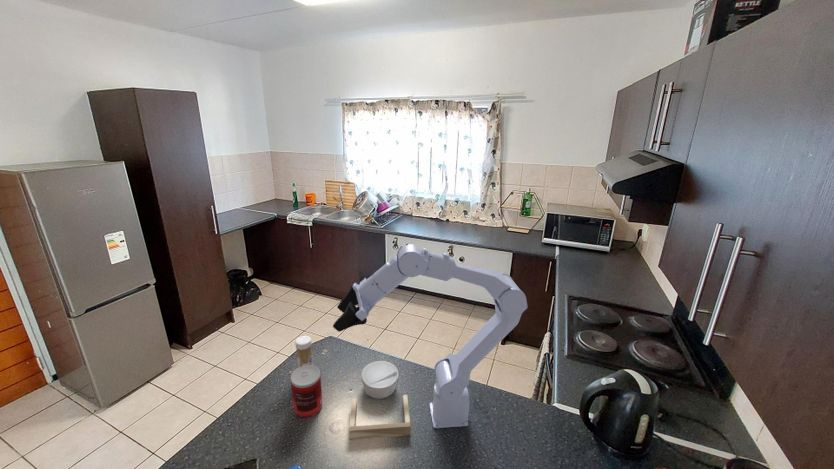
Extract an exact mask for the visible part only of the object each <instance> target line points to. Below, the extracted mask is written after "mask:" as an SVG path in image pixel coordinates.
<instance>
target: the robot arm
mask: <svg viewBox="0 0 834 469" xmlns="http://www.w3.org/2000/svg"><path fill="white" fill-rule="evenodd" d="M418 276H423V277H428V278H432V279H435V280H439V281H444V282H448V281H450V280H451V279H456V280H460V281H462V282H466V283H469V284H472V285H475V286H479V287H482V288H484V289H485V290H486V291H487V292H488V294H490V296H491V297H492V298H493V300H494V309H495V313H494V314H493V315H492V316H491V317H490V319H489V320H487V321H486V323H484V324H483V325H482V326H481V327H480V329H479V330H478V331H477V332H476V333H475V334H474V335H473V336H472V337H471V338H470V339H469V340H468V341H467V342H466V343H465V344H464V345H463V347H461V349H459V350H458V352H457V353H453V352H452V353H448V354H447V355H446V356H445V357H443V358H441V359H438V361H436V362H435V364H434V373H435V377H436V380H435V383H434V386H433V401H432V402H429V410H430V417H431V422H432V426H433V428H434V429H443V428H457V427H469V422H468V421H469V412H470V393H469V390H468V386H469V384H470V378H471V373H472V371H473V370H474V369H475V368H476V367H477V366H478V364H480V363H481V361H483V360H484V359H485V358H486V357H487V356H488V355H489V354H490V353H491V352H492V351H493V350H494V349H495V348H496V347H497V346H498V345H499V343H501V342H502V340H503V339H505V338H506V336H507V335H509V333H511V331H512V330H514V329H515V327H517V325H518V324H519V322H520V320H521V316H522V315H523V313H524V312H525V311H526V310H527V309H528V302H527V296H526V294H525V292H523V290H521V289H520V288H519V286H518V285H517V284H516V283H515V281H514V280H513V278H512V276H511V275H509V274H508V273H505V272H501V271H499V270H489V269H484V268H480V267H474V266H469V265H465V264H460V263H456V261H455V260H454V258H453V257H452V256H450V254H449V253H447V252H443V253H442V254H440V253H436V252H432V251H429V250H428V248H425V247H424V248H422V249H421V248H420V247H419V246H418V245H416V244H412V243H408V244H405V245H400V247H399V248H398V249H397V252H396V255H395V256H393V258H391V259H390V260H389V261H387V262H386V263H385V264H383V265H382V266H381V267H380V268H378V270H376V271H375V272H374V273H373V274H371V275H370V276H369V277H368V278H366V277H364V278H363V279H362V280H361V281H360V282H359V284H358V283H357V282H352V283H351V285H350V288H349V289H348V292H347V293H346V294H345V296H344V297H343V298H342V299H341V300H340V302H339V303H338V305H337V307H336V308H337V309H338V310H340V312H342V314H341V315H340V316H339V317H337V320H335V322H334V323H333V325H332V328H334V330H336V331H337V332H338V333H339V332H340V333H341V332H342V331H345V330H347V329H349V328H352V327H355V326H359V325H366V323H367V322H368V320H367V319H368V317H369V315H370V312H371V311H372V310H373V309H374V307H375V306H376V304H377V303H379V302H380V301H381V300H383V299H384V298H385V297H386V296H388V294H390V293H391V292H392V291H394V289H396V288H398V286H400V285H401V284H402V283H403V282H404V281H405V280H407V279H408V278H414V277H418ZM357 305H358V306H357Z"/></svg>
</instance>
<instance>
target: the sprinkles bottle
mask: <svg viewBox="0 0 834 469" xmlns="http://www.w3.org/2000/svg"><path fill="white" fill-rule="evenodd" d="M294 342H295V349H296V358H297V360H296V361H297V366H298V367H297V368H299V367H301V366H305V365H313V366H314V359H313V351H312V344H313V343H312V338H311V337H310V336H308V335H301V336H299V337H297V338H296V339H295V341H294Z"/></svg>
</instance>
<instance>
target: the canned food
mask: <svg viewBox="0 0 834 469" xmlns="http://www.w3.org/2000/svg"><path fill="white" fill-rule="evenodd" d="M321 379H322V377H321V371H320V368H318V367H317V366H315V365H314V364H313V365H305V366H301V367H299V368H298V367H297V368H296V369H295V370H293V372H292V373H291V375H290V388H291V396H292V404H293V409H294V412H295V414H296V415H297V416H299V417H301V418H311V417H313V416H314V415H317V413H319V412H320V410H321V408H322V407H323V406H322V405H323V392H322V380H321Z"/></svg>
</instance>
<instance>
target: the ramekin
mask: <svg viewBox="0 0 834 469" xmlns="http://www.w3.org/2000/svg"><path fill="white" fill-rule="evenodd" d="M399 377H400V376H399V369H398V368H397V367H396V365H395V364H393V363H392V362H389V361H386V360H377V361H376V360H375V361H371V362H370V363H368V364H367V365H366V366H364V367H363V369H362V371H361V375H360V378H361V383H362V385H363V389H364V391H365V393H366V394H367V395H368V396H369V397H371V398H373V399H379V400H380V399H381V400H382V399H384V398H387V397H389V396H391V395H392V394H393V393H394V392H395V389H396V388H397V383H398V380H399Z"/></svg>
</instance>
